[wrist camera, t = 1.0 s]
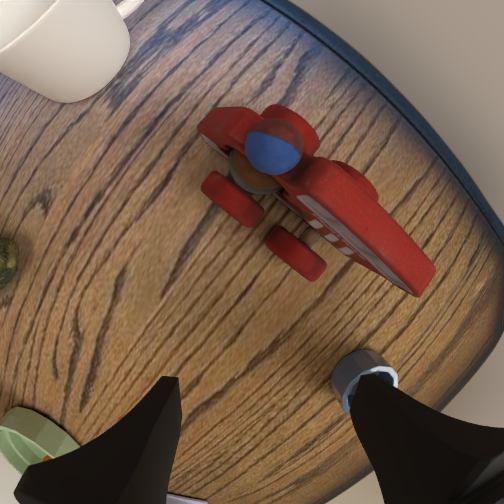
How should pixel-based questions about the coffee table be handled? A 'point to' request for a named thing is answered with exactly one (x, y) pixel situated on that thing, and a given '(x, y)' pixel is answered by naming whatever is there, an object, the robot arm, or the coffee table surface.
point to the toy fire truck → (307, 196)
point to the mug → (64, 44)
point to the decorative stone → (7, 260)
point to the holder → (358, 374)
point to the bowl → (31, 438)
